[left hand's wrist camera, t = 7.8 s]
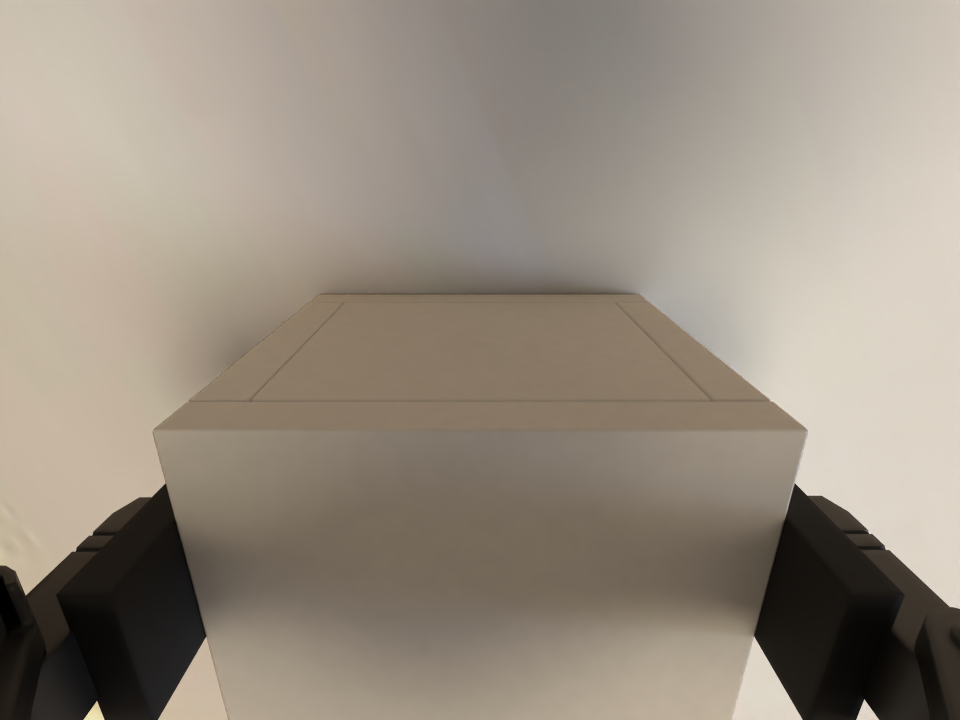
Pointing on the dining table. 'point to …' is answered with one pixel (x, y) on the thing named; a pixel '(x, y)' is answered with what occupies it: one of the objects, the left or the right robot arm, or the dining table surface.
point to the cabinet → (480, 512)
